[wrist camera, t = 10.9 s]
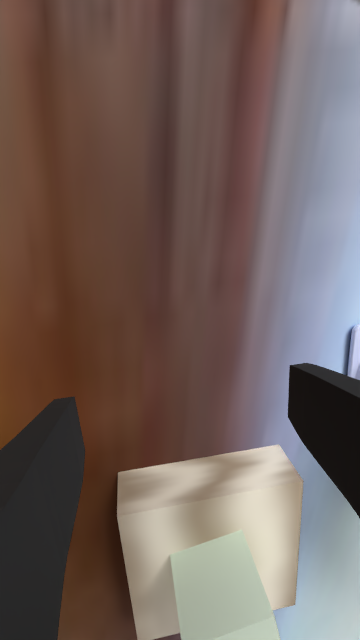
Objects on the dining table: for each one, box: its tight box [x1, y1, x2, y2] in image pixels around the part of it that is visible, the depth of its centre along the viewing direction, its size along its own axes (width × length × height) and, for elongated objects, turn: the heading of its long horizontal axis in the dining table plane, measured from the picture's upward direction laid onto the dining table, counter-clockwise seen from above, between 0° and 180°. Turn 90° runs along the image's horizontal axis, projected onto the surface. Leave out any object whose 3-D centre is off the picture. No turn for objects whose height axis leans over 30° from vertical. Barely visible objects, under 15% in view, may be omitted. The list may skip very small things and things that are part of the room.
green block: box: [170, 530, 280, 640], centre depth 20 cm, size 5×5×5 cm
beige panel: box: [117, 445, 303, 640], centre depth 24 cm, size 12×12×4 cm
